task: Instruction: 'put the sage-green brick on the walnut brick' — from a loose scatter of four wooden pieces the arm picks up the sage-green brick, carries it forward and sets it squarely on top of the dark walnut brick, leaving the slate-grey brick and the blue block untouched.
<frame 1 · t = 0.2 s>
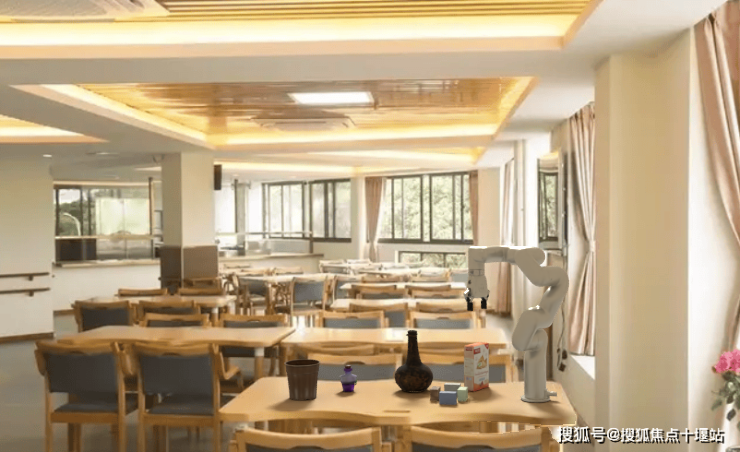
hand: (477, 309, 387), 37 cm above the table, tool pointing down, fingers open, 9 cm apart
slate brick: (452, 394, 376), on the table
plant pot: (303, 398, 376), on the table
blue block: (448, 403, 359), on the table
potion bottle: (348, 391, 389), on the table
glass bottle: (414, 390, 387), on the table
sage brick: (462, 399, 366), on the table
cracker box: (476, 389, 389), on the table
walnut brick: (435, 399, 368), on the table
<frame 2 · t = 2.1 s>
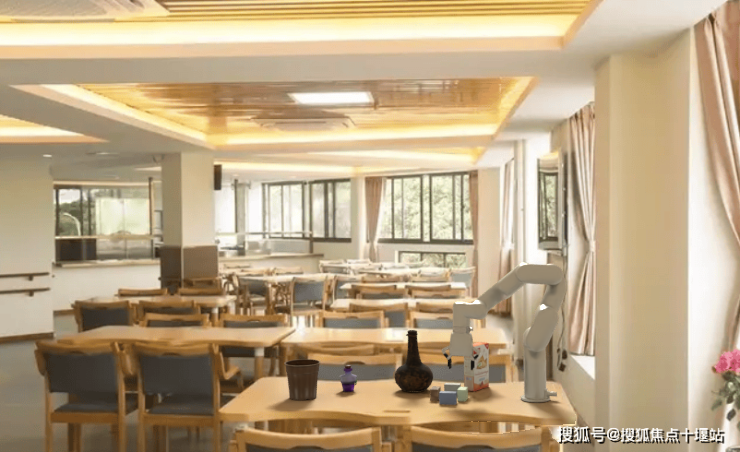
hand: (461, 369, 366), 13 cm above the table, tool pointing down, fingers open, 9 cm apart
nothing on the table moved.
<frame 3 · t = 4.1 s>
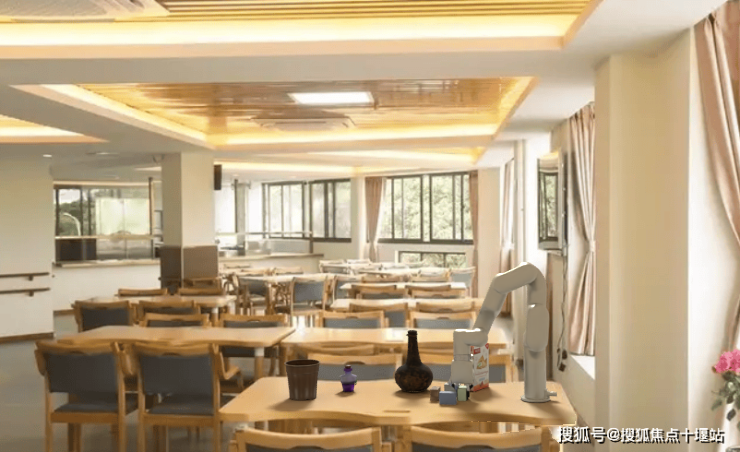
hand: (462, 398, 366), 0 cm above the table, tool pointing down, fingers closed on sage brick, 3 cm apart
sage brick: (463, 398, 367), on the table, touching gripper
everything else where it was.
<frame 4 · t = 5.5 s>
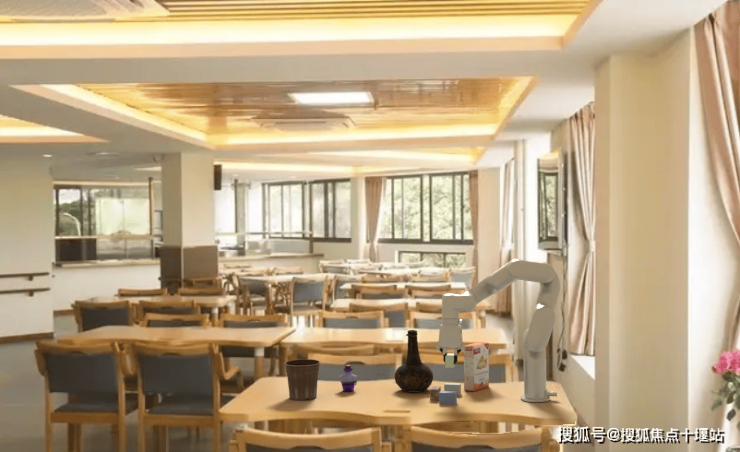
hand: (450, 363, 367), 16 cm above the table, tool pointing down, fingers closed on sage brick, 3 cm apart
sage brick: (450, 366, 367), point 15 cm above the table, touching gripper
everything else where it was.
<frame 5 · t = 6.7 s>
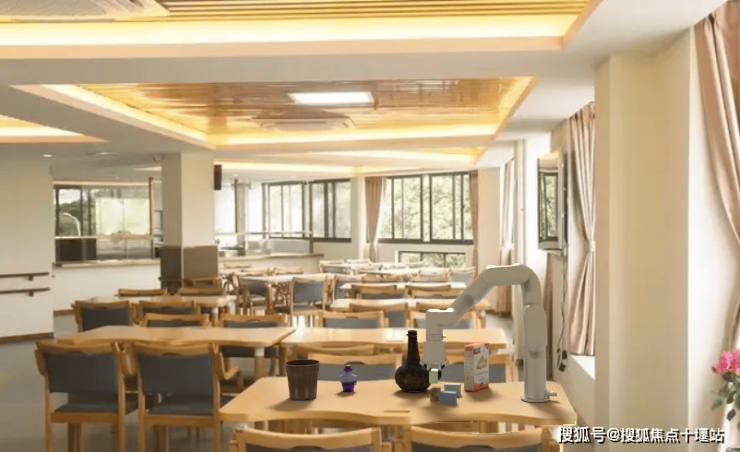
hand: (434, 378, 368), 9 cm above the table, tool pointing down, fingers closed on sage brick, 3 cm apart
sage brick: (434, 381, 368), point 8 cm above the table, touching gripper
everything else where it was.
when the fingers open (6 cm above the table, at t = 7.5 s): sage brick stays where it is, resting on walnut brick.
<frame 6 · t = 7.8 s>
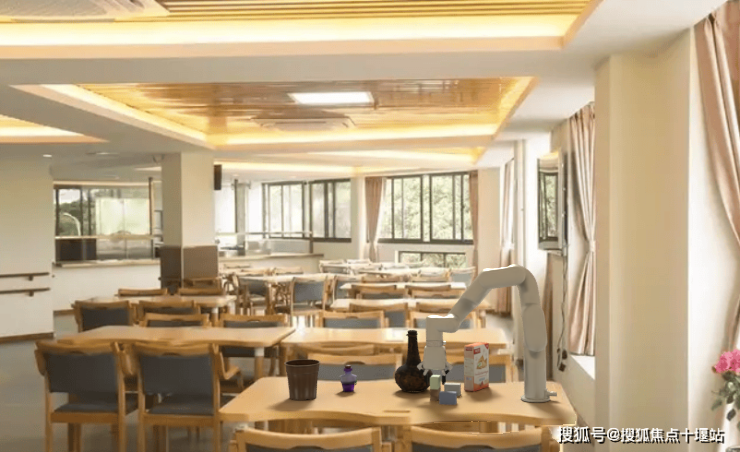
hand: (435, 383, 368), 7 cm above the table, tool pointing down, fingers open, 6 cm apart
sage brick: (435, 387, 368), point 5 cm above the table, touching walnut brick
walnut brick: (435, 399, 368), on the table, touching sage brick
everything else where it was.
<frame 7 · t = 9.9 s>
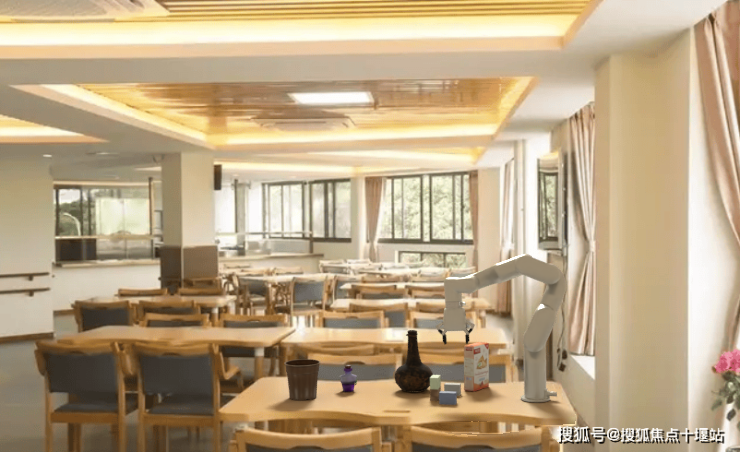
hand: (456, 343, 370), 24 cm above the table, tool pointing down, fingers open, 9 cm apart
nothing on the table moved.
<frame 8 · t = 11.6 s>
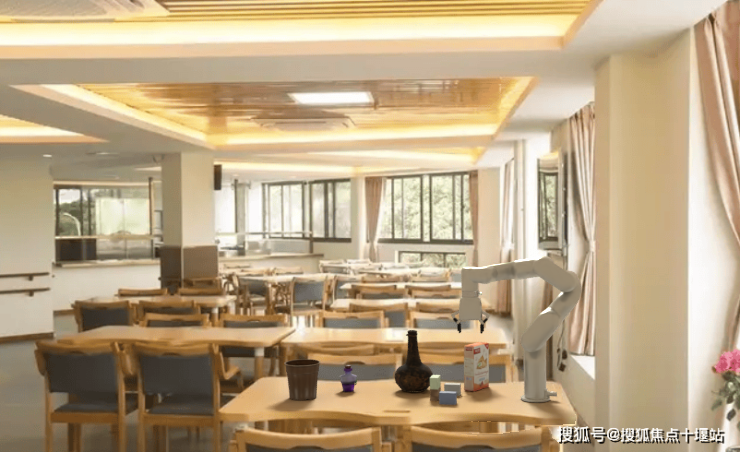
hand: (470, 332, 372), 28 cm above the table, tool pointing down, fingers open, 9 cm apart
nothing on the table moved.
at the end: sage brick 0.1 cm off-centre on the walnut brick, point 5.0 cm above the walnut brick's base; slate brick moved 0.1 cm from its start; blue block moved 0.1 cm from its start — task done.
